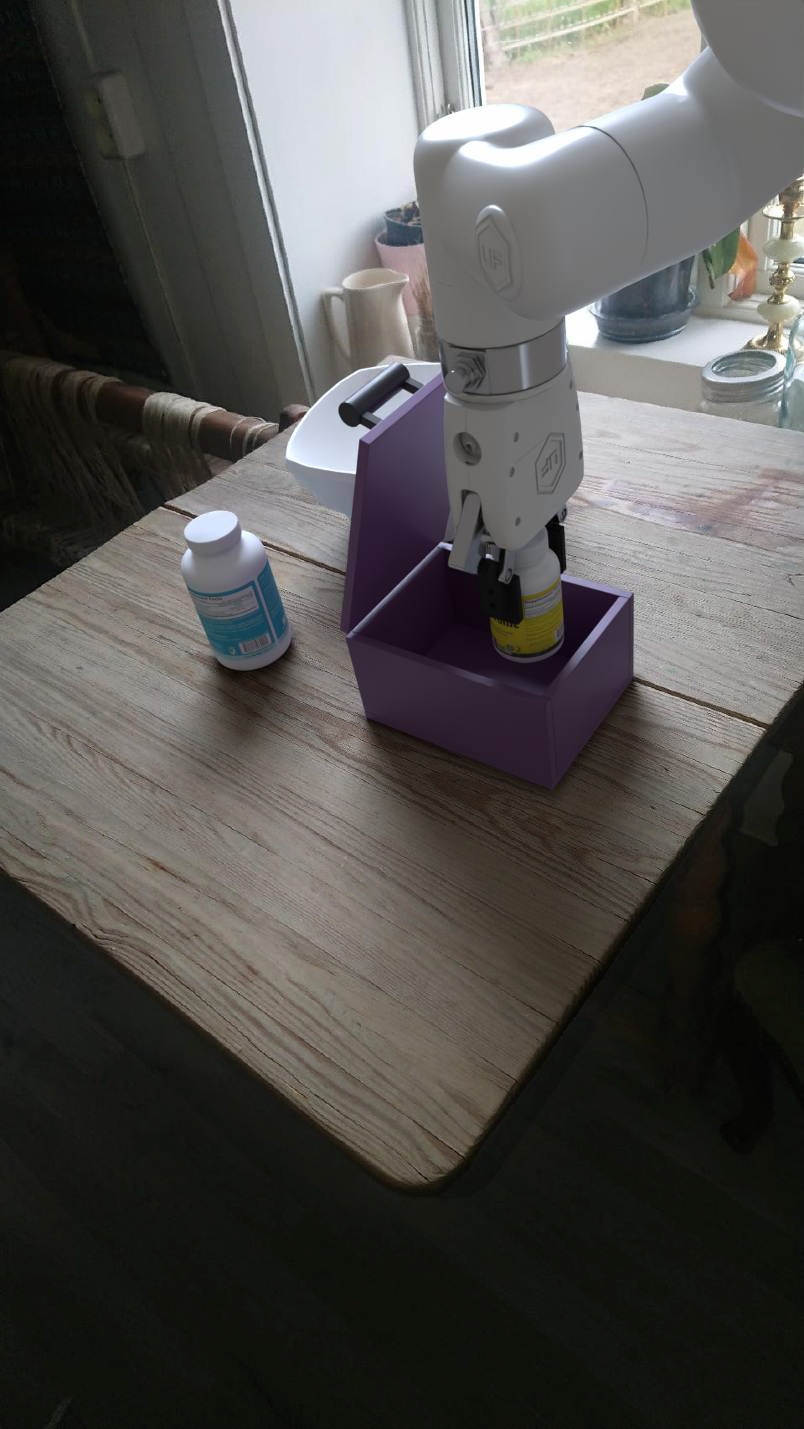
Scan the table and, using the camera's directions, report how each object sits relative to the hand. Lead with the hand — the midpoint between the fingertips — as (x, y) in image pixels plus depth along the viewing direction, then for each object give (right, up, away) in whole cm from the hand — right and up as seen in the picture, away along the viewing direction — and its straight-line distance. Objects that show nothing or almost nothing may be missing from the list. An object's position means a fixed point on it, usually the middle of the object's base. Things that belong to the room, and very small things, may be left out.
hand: (524, 590), depth 70 cm
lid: (-8, +7, +1) cm, 11 cm away
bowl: (-6, +11, +31) cm, 34 cm away
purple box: (-1, -8, +10) cm, 13 cm away
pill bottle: (-23, -3, +20) cm, 30 cm away
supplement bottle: (+1, -4, +4) cm, 5 cm away
